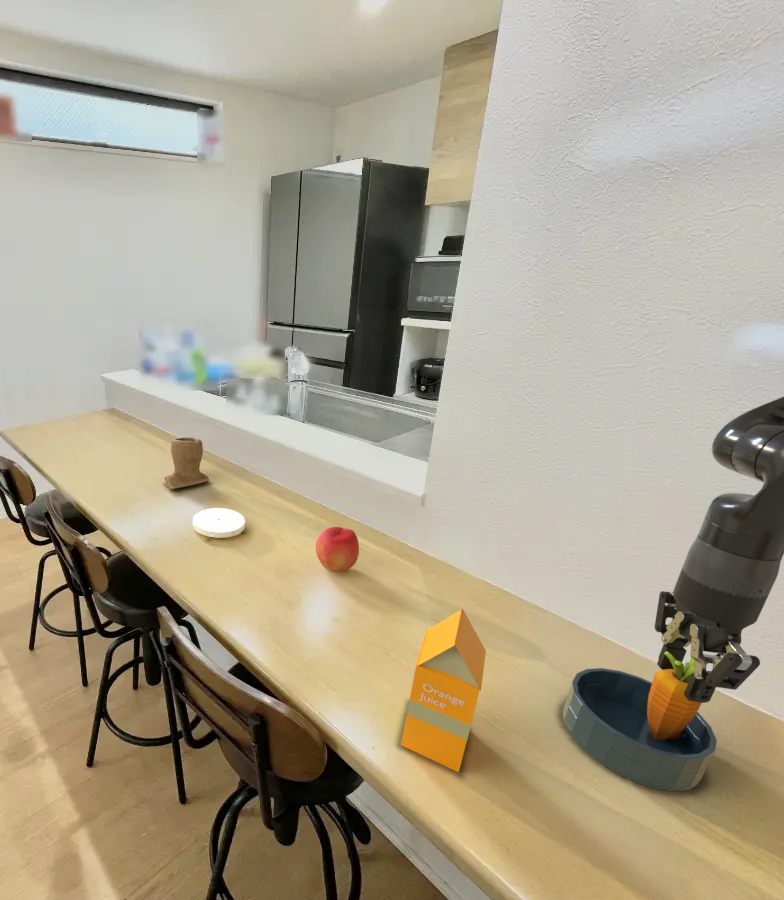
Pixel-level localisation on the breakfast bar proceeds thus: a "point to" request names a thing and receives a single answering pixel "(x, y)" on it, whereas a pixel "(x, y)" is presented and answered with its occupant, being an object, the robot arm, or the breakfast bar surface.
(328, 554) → the apple
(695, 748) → the bowl
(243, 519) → the plastic lid
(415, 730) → the orange juice
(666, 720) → the carrot
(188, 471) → the stone cup
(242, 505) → the breakfast bar surface
